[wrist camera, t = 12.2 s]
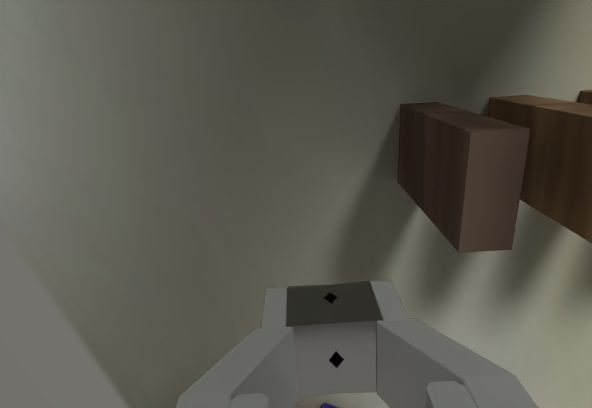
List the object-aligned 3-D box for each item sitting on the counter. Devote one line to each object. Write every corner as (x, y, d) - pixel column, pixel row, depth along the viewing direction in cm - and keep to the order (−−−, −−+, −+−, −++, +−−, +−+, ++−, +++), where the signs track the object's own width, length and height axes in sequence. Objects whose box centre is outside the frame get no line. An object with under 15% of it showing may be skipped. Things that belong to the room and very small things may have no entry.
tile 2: (481, 176, 25) (592, 243, 16) (489, 97, 24) (619, 122, 14) (515, 173, 25) (646, 240, 16) (526, 94, 24) (679, 117, 14)
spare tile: (397, 182, 25) (458, 252, 16) (400, 104, 24) (471, 132, 14) (431, 180, 25) (511, 249, 16) (436, 102, 24) (530, 129, 14)
